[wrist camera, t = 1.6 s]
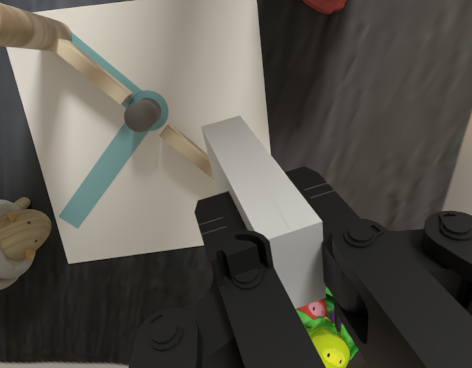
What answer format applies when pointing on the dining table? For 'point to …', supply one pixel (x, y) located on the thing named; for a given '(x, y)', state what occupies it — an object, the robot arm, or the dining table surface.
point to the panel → (187, 148)
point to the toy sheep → (19, 238)
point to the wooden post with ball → (72, 59)
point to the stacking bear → (326, 5)
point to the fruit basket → (327, 332)
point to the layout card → (126, 140)
